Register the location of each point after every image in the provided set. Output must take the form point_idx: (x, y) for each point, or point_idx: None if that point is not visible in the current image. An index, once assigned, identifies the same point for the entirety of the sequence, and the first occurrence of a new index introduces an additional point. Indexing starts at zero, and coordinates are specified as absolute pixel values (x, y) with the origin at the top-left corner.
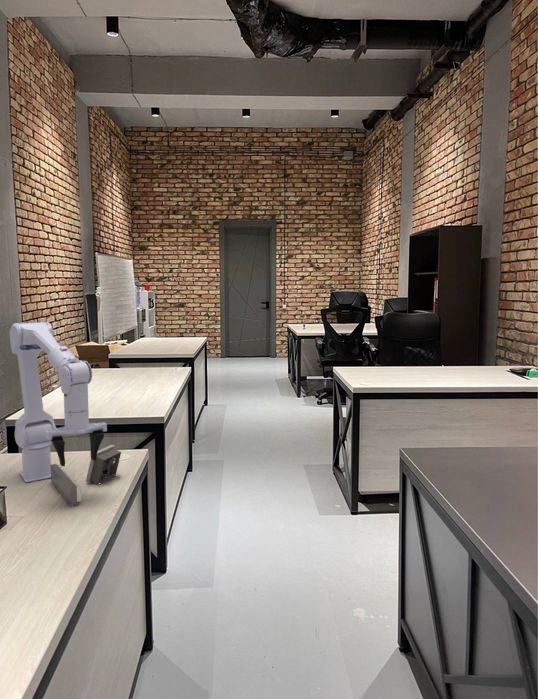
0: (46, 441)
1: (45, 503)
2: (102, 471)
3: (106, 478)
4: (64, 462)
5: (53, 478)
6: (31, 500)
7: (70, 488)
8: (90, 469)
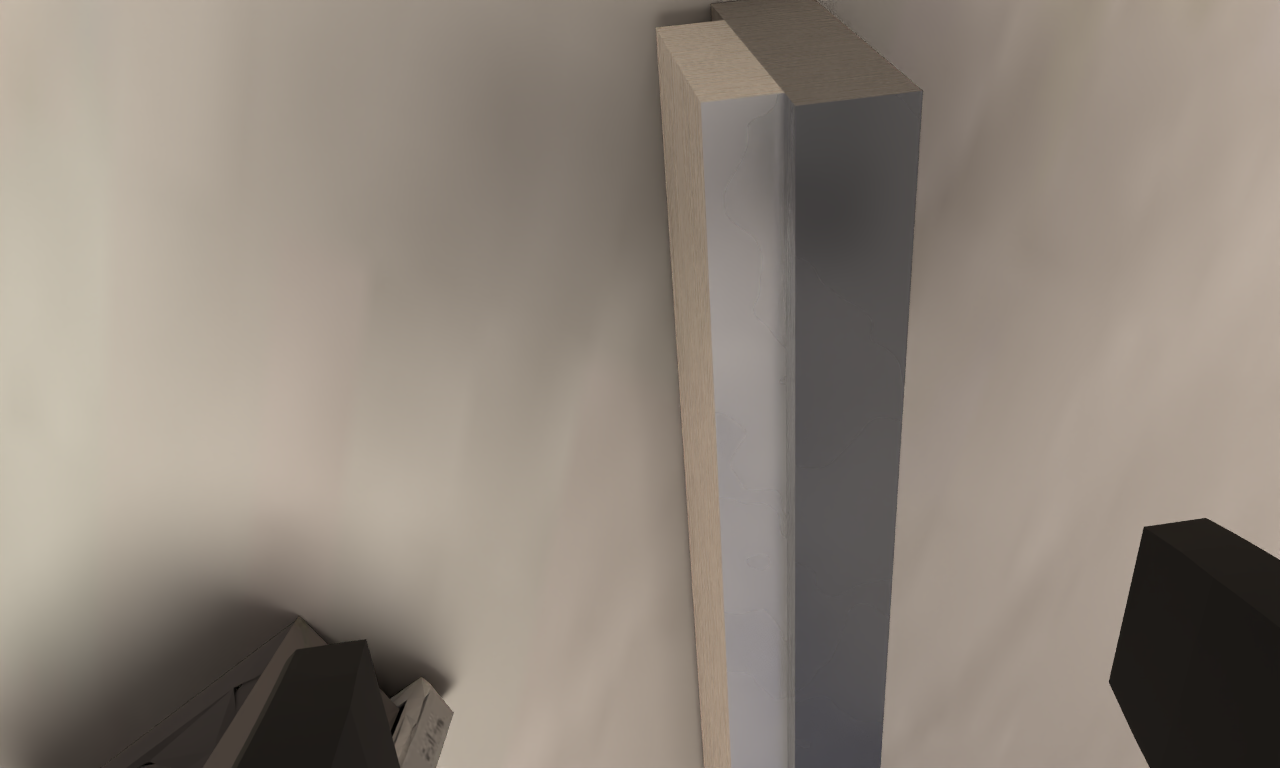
0: None
1: (1053, 290)
2: None
3: (174, 748)
4: (1225, 576)
5: None
6: (1146, 444)
7: (914, 86)
8: None
